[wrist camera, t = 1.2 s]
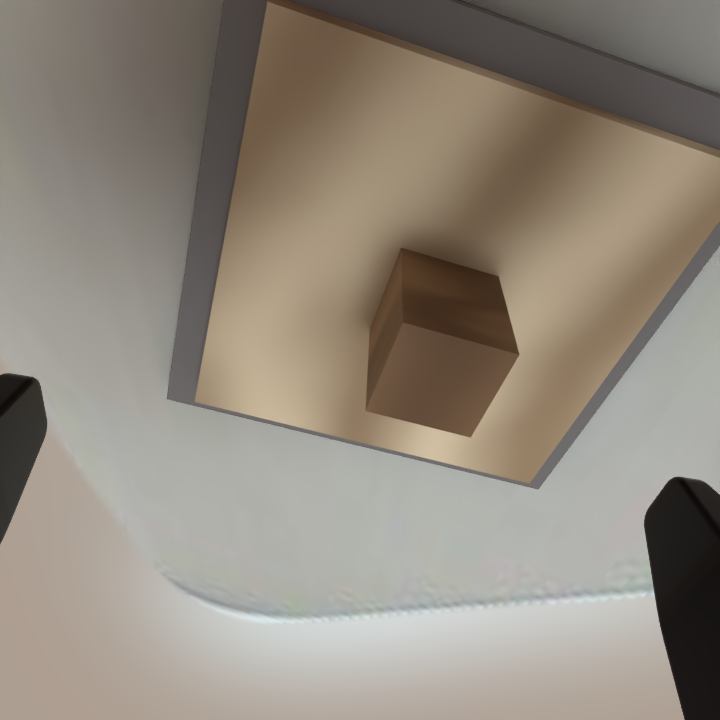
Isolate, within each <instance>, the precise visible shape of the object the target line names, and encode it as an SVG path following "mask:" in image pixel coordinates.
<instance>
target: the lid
mask: <svg viewBox="0 0 720 720" xmlns="http://www.w3.org/2000/svg"><path fill="white" fill-rule="evenodd" d="M719 221H720V150H717V149H714V148H711V147H709V146H706V145H703V144H700V143H697V142H694V141H691V140H688V139H686V138H683V137H680V136H677V135H674V134H671V133H668V132H665V131H663V130H660V129H657V128H654V127H651V126H648V125H645V124H642V123H639V122H637V121H634V120H631V119H628V118H625V117H622V116H619V115H616V114H614V113H611V112H608V111H605V110H602V109H599V108H596V107H593V106H591V105H588V104H585V103H582V102H579V101H576V100H573V99H570V98H568V97H565V96H562V95H559V94H556V93H553V92H550V91H547V90H545V89H542V88H539V87H536V86H533V85H530V84H527V83H524V82H521V81H519V80H516V79H513V78H510V77H507V76H504V75H501V74H498V73H496V72H493V71H490V70H487V69H484V68H481V67H478V66H475V65H473V64H470V63H467V62H464V61H461V60H458V59H455V58H452V57H450V56H447V55H444V54H441V53H438V52H435V51H432V50H429V49H427V48H424V47H421V46H418V45H415V44H412V43H409V42H406V41H404V40H401V39H398V38H395V37H392V36H389V35H386V34H383V33H380V32H378V31H375V30H372V29H369V28H366V27H363V26H360V25H357V24H355V23H352V22H349V21H346V20H343V19H340V18H337V17H334V16H332V15H329V14H326V13H323V12H320V11H317V10H314V9H311V8H309V7H306V6H303V5H300V4H297V3H294V2H291V1H288V0H269V1H268V2H267V7H266V13H265V18H264V24H263V29H262V35H261V40H260V46H259V51H258V56H257V62H256V67H255V73H254V78H253V84H252V89H251V95H250V100H249V106H248V111H247V117H246V122H245V128H244V133H243V139H242V144H241V150H240V155H239V161H238V166H237V172H236V177H235V183H234V188H233V194H232V199H231V205H230V210H229V216H228V221H227V227H226V232H225V238H224V243H223V249H222V254H221V259H220V265H219V270H218V276H217V281H216V287H215V292H214V298H213V303H212V309H211V314H210V320H209V325H208V331H207V336H206V342H205V347H204V353H203V358H202V364H201V369H200V375H199V380H198V386H197V391H196V397H195V402H197V403H201V404H205V405H210V406H214V407H218V408H222V409H226V410H230V411H234V412H238V413H242V414H246V415H250V416H255V417H259V418H263V419H267V420H271V421H275V422H279V423H283V424H287V425H291V426H296V427H300V428H304V429H308V430H312V431H316V432H320V433H324V434H328V435H332V436H337V437H341V438H345V439H349V440H353V441H357V442H361V443H365V444H369V445H373V446H377V447H382V448H386V449H390V450H394V451H398V452H402V453H406V454H410V455H414V456H418V457H423V458H427V459H431V460H435V461H439V462H443V463H447V464H451V465H455V466H459V467H464V468H468V469H472V470H476V471H480V472H484V473H488V474H492V475H496V476H500V477H504V478H509V479H513V480H517V481H521V482H525V483H529V484H530V482H531V481H532V479H533V478H534V477H535V475H536V474H537V473H538V471H539V470H540V468H541V467H542V466H543V464H544V463H545V461H546V460H547V459H548V457H549V456H550V455H551V453H552V452H553V450H554V449H555V448H556V446H557V445H558V443H559V442H560V441H561V439H562V438H563V437H564V435H565V434H566V432H567V431H568V430H569V428H570V427H571V426H572V424H573V423H574V421H575V420H576V419H577V417H578V416H579V414H580V413H581V412H582V410H583V409H584V408H585V406H586V405H587V403H588V402H589V401H590V399H591V398H592V396H593V395H594V394H595V392H596V391H597V390H598V388H599V387H600V385H601V384H602V383H603V381H604V380H605V378H606V377H607V376H608V374H609V373H610V372H611V370H612V369H613V367H614V366H615V365H616V363H617V362H618V361H619V359H620V358H621V356H622V355H623V354H624V352H625V351H626V349H627V348H628V347H629V345H630V344H631V343H632V341H633V340H634V338H635V337H636V336H637V334H638V333H639V331H640V330H641V329H642V327H643V326H644V325H645V323H646V322H647V320H648V319H649V318H650V316H651V315H652V313H653V312H654V311H655V309H656V308H657V307H658V305H659V304H660V302H661V301H662V300H663V298H664V297H665V296H666V294H667V293H668V291H669V290H670V289H671V287H672V286H673V284H674V283H675V282H676V280H677V279H678V278H679V276H680V275H681V273H682V272H683V271H684V269H685V268H686V266H687V265H688V264H689V262H690V261H691V260H692V258H693V257H694V255H695V254H696V253H697V251H698V250H699V248H700V247H701V246H702V244H703V243H704V242H705V240H706V239H707V237H708V236H709V235H710V233H711V232H712V231H713V229H714V228H715V226H716V225H717V224H718V222H719Z"/></svg>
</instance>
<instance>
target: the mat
mask: <svg viewBox="0 0 720 720" xmlns="http://www.w3.org/2000/svg"><path fill="white" fill-rule="evenodd" d="M268 1H269V0H224V3H223V10H222V17H221V24H220V31H219V38H218V45H217V52H216V59H215V66H214V73H213V80H212V87H211V94H210V101H209V108H208V115H207V122H206V129H205V136H204V143H203V149H202V156H201V163H200V170H199V177H198V184H197V191H196V198H195V205H194V212H193V219H192V226H191V233H190V240H189V247H188V254H187V261H186V268H185V275H184V282H183V289H182V296H181V303H180V310H179V317H178V324H177V331H176V338H175V345H174V352H173V359H172V366H171V372H170V379H169V386H168V393H167V399H169V400H173V401H177V402H181V403H185V404H189V405H193V406H198V407H202V408H206V409H210V410H214V411H218V412H222V413H226V414H230V415H235V416H239V417H243V418H247V419H251V420H255V421H259V422H263V423H267V424H272V425H276V426H280V427H284V428H288V429H292V430H296V431H300V432H304V433H309V434H313V435H317V436H321V437H325V438H329V439H333V440H337V441H341V442H346V443H350V444H354V445H358V446H362V447H366V448H370V449H374V450H378V451H383V452H387V453H391V454H395V455H399V456H403V457H407V458H411V459H415V460H420V461H424V462H428V463H432V464H436V465H440V466H444V467H448V468H452V469H457V470H461V471H465V472H469V473H473V474H477V475H481V476H485V477H489V478H494V479H498V480H502V481H506V482H510V483H514V484H518V485H522V486H527V487H531V488H535V489H539V488H540V486H541V485H542V484H543V482H544V481H545V480H546V478H547V477H548V476H549V474H550V473H551V472H552V470H553V469H554V468H555V466H556V465H557V464H558V462H559V461H560V460H561V458H562V457H563V455H564V454H565V453H566V451H567V450H568V449H569V447H570V446H571V445H572V443H573V442H574V441H575V439H576V438H577V437H578V435H579V434H580V433H581V431H582V430H583V429H584V427H585V426H586V425H587V423H588V422H589V421H590V419H591V418H592V416H593V415H594V414H595V412H596V411H597V410H598V408H599V407H600V406H601V404H602V403H603V402H604V400H605V399H606V398H607V396H608V395H609V394H610V392H611V391H612V390H613V388H614V387H615V386H616V384H617V383H618V382H619V380H620V379H621V377H622V376H623V375H624V373H625V372H626V371H627V369H628V368H629V367H630V365H631V364H632V363H633V361H634V360H635V359H636V357H637V356H638V355H639V353H640V352H641V351H642V349H643V348H644V347H645V345H646V344H647V342H648V341H649V340H650V338H651V337H652V336H653V334H654V333H655V332H656V330H657V329H658V328H659V326H660V325H661V324H662V322H663V321H664V320H665V318H666V317H667V316H668V314H669V313H670V312H671V310H672V309H673V308H674V306H675V305H676V303H677V302H678V301H679V299H680V298H681V297H682V295H683V294H684V293H685V291H686V290H687V289H688V287H689V286H690V285H691V283H692V282H693V281H694V279H695V278H696V277H697V275H698V274H699V273H700V271H701V270H702V269H703V267H704V266H705V264H706V263H707V262H708V260H709V259H710V258H711V256H712V255H713V254H714V252H715V251H716V250H717V248H718V247H719V246H720V221H719V222H718V224H717V225H716V226H715V228H714V229H713V231H712V232H711V233H710V235H709V236H708V237H707V239H706V240H705V242H704V243H703V244H702V246H701V247H700V248H699V250H698V251H697V253H696V254H695V255H694V257H693V258H692V260H691V261H690V262H689V264H688V265H687V266H686V268H685V269H684V271H683V272H682V273H681V275H680V276H679V278H678V279H677V280H676V282H675V283H674V284H673V286H672V287H671V289H670V290H669V291H668V293H667V294H666V296H665V297H664V298H663V300H662V301H661V302H660V304H659V305H658V307H657V308H656V309H655V311H654V312H653V313H652V315H651V316H650V318H649V319H648V320H647V322H646V323H645V325H644V326H643V327H642V329H641V330H640V331H639V333H638V334H637V336H636V337H635V338H634V340H633V341H632V343H631V344H630V345H629V347H628V348H627V349H626V351H625V352H624V354H623V355H622V356H621V358H620V359H619V361H618V362H617V363H616V365H615V366H614V367H613V369H612V370H611V372H610V373H609V374H608V376H607V377H606V378H605V380H604V381H603V383H602V384H601V385H600V387H599V388H598V390H597V391H596V392H595V394H594V395H593V396H592V398H591V399H590V401H589V402H588V403H587V405H586V406H585V408H584V409H583V410H582V412H581V413H580V414H579V416H578V417H577V419H576V420H575V421H574V423H573V424H572V426H571V427H570V428H569V430H568V431H567V432H566V434H565V435H564V437H563V438H562V439H561V441H560V442H559V443H558V445H557V446H556V448H555V449H554V450H553V452H552V453H551V455H550V456H549V457H548V459H547V460H546V461H545V463H544V464H543V466H542V467H541V468H540V470H539V471H538V473H537V474H536V475H535V477H534V478H533V479H532V481H531V482H530V484H529V483H525V482H521V481H517V480H513V479H509V478H504V477H500V476H496V475H492V474H488V473H484V472H480V471H476V470H472V469H468V468H464V467H459V466H455V465H451V464H447V463H443V462H439V461H435V460H431V459H427V458H423V457H418V456H414V455H410V454H406V453H402V452H398V451H394V450H390V449H386V448H382V447H377V446H373V445H369V444H365V443H361V442H357V441H353V440H349V439H345V438H341V437H337V436H332V435H328V434H324V433H320V432H316V431H312V430H308V429H304V428H300V427H296V426H291V425H287V424H283V423H279V422H275V421H271V420H267V419H263V418H259V417H255V416H250V415H246V414H242V413H238V412H234V411H230V410H226V409H222V408H218V407H214V406H210V405H205V404H201V403H197V402H195V397H196V391H197V386H198V380H199V375H200V369H201V364H202V358H203V353H204V347H205V342H206V336H207V331H208V325H209V320H210V314H211V309H212V303H213V298H214V292H215V287H216V281H217V276H218V270H219V265H220V259H221V254H222V249H223V243H224V238H225V232H226V227H227V221H228V216H229V210H230V205H231V199H232V194H233V188H234V183H235V177H236V172H237V166H238V161H239V155H240V150H241V144H242V139H243V133H244V128H245V122H246V117H247V111H248V106H249V100H250V95H251V89H252V84H253V78H254V73H255V67H256V62H257V56H258V51H259V46H260V40H261V35H262V29H263V24H264V18H265V13H266V7H267V2H268ZM288 1H291V2H294V3H297V4H300V5H303V6H306V7H309V8H311V9H314V10H317V11H320V12H323V13H326V14H329V15H332V16H334V17H337V18H340V19H343V20H346V21H349V22H352V23H355V24H357V25H360V26H363V27H366V28H369V29H372V30H375V31H378V32H380V33H383V34H386V35H389V36H392V37H395V38H398V39H401V40H404V41H406V42H409V43H412V44H415V45H418V46H421V47H424V48H427V49H429V50H432V51H435V52H438V53H441V54H444V55H447V56H450V57H452V58H455V59H458V60H461V61H464V62H467V63H470V64H473V65H475V66H478V67H481V68H484V69H487V70H490V71H493V72H496V73H498V74H501V75H504V76H507V77H510V78H513V79H516V80H519V81H521V82H524V83H527V84H530V85H533V86H536V87H539V88H542V89H545V90H547V91H550V92H553V93H556V94H559V95H562V96H565V97H568V98H570V99H573V100H576V101H579V102H582V103H585V104H588V105H591V106H593V107H596V108H599V109H602V110H605V111H608V112H611V113H614V114H616V115H619V116H622V117H625V118H628V119H631V120H634V121H637V122H639V123H642V124H645V125H648V126H651V127H654V128H657V129H660V130H663V131H665V132H668V133H671V134H674V135H677V136H680V137H683V138H686V139H688V140H691V141H694V142H697V143H700V144H703V145H706V146H709V147H711V148H714V149H717V150H720V94H717V93H714V92H711V91H709V90H706V89H703V88H700V87H697V86H695V85H692V84H689V83H686V82H684V81H681V80H678V79H675V78H673V77H670V76H667V75H664V74H662V73H659V72H656V71H653V70H651V69H648V68H645V67H642V66H640V65H637V64H634V63H631V62H629V61H626V60H623V59H620V58H618V57H615V56H612V55H609V54H606V53H604V52H601V51H598V50H595V49H593V48H590V47H587V46H584V45H582V44H579V43H576V42H573V41H571V40H568V39H565V38H562V37H560V36H557V35H554V34H551V33H549V32H546V31H543V30H540V29H538V28H535V27H532V26H529V25H527V24H524V23H521V22H518V21H516V20H513V19H510V18H507V17H504V16H502V15H499V14H496V13H493V12H491V11H488V10H485V9H482V8H480V7H477V6H474V5H471V4H469V3H466V2H463V1H460V0H288Z"/></svg>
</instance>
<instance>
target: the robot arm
mask: <svg viewBox="0 0 720 720" xmlns="http://www.w3.org/2000/svg"><path fill="white" fill-rule="evenodd" d="M46 431H47V417H46V412H45V407H44V401H43V396H42V391H41V386H40V383H39V381H38V380H37V379H36V378H34V377H30V376H24V375H17V374H10V373H6V374H2V375H0V543H1V541H2V540H3V538H4V535H5V533H6V531H7V529H8V526H9V524H10V522H11V519H12V517H13V515H14V512H15V510H16V507H17V505H18V502H19V500H20V497H21V495H22V493H23V490H24V488H25V485H26V483H27V480H28V478H29V475H30V473H31V470H32V468H33V465H34V463H35V460H36V458H37V455H38V453H39V450H40V448H41V446H42V443H43V441H44V438H45V435H46ZM644 528H645V535H646V541H647V548H648V554H649V561H650V567H651V574H652V580H653V586H654V593H655V599H656V606H657V611H658V617H659V622H660V627H661V631H662V635H663V640H664V644H665V647H666V651H667V655H668V659H669V662H670V666H671V670H672V674H673V677H674V681H675V685H676V689H677V693H678V696H679V700H680V704H681V708H682V712H683V715H684V719H685V720H720V495H719V494H718V493H717V492H716V491H715V490H714V489H712V488H711V487H710V486H709V485H708V484H707V483H705V482H703V481H701V480H697V479H691V478H684V477H674V478H672V479H670V480H669V481H668V482H667V484H666V485H665V486H664V488H663V489H662V490H661V492H660V493H659V495H658V496H657V497H656V499H655V500H654V501H653V503H652V504H651V505H650V507H649V508H648V510H647V512H646V515H645V519H644Z"/></svg>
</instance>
